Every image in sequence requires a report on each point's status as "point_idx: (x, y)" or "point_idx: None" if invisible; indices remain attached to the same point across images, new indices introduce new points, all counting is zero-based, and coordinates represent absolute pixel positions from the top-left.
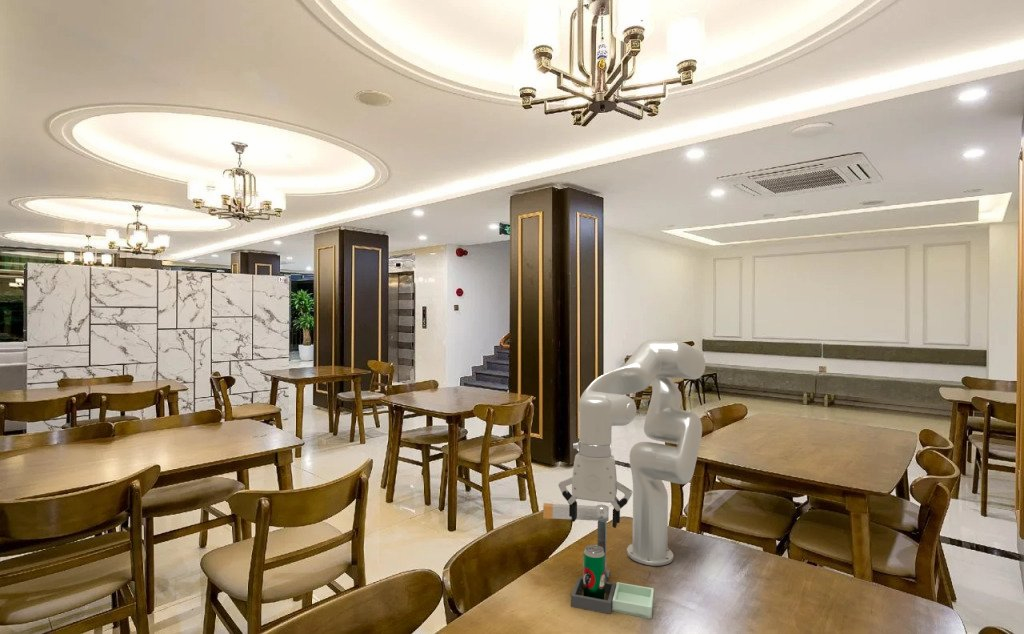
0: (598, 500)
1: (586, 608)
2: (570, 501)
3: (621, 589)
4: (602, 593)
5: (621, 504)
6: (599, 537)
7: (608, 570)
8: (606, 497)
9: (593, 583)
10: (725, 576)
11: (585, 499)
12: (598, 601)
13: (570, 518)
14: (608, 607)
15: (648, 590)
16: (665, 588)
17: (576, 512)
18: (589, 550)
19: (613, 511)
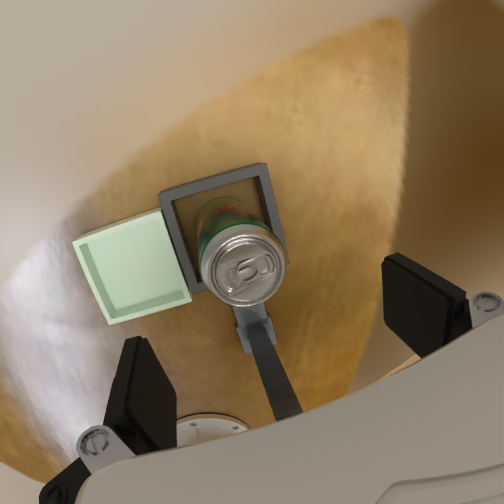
0: (258, 432)
1: (220, 173)
2: (487, 306)
3: (179, 293)
4: (197, 224)
5: (77, 476)
6: (284, 386)
7: (246, 350)
8: (146, 501)
9: (218, 208)
10: (75, 437)
11: (422, 358)
12: (190, 184)
13: (396, 370)
14: (165, 191)
15: (118, 315)
16: (118, 362)
17: (402, 327)
18: (257, 245)
19: (123, 410)
